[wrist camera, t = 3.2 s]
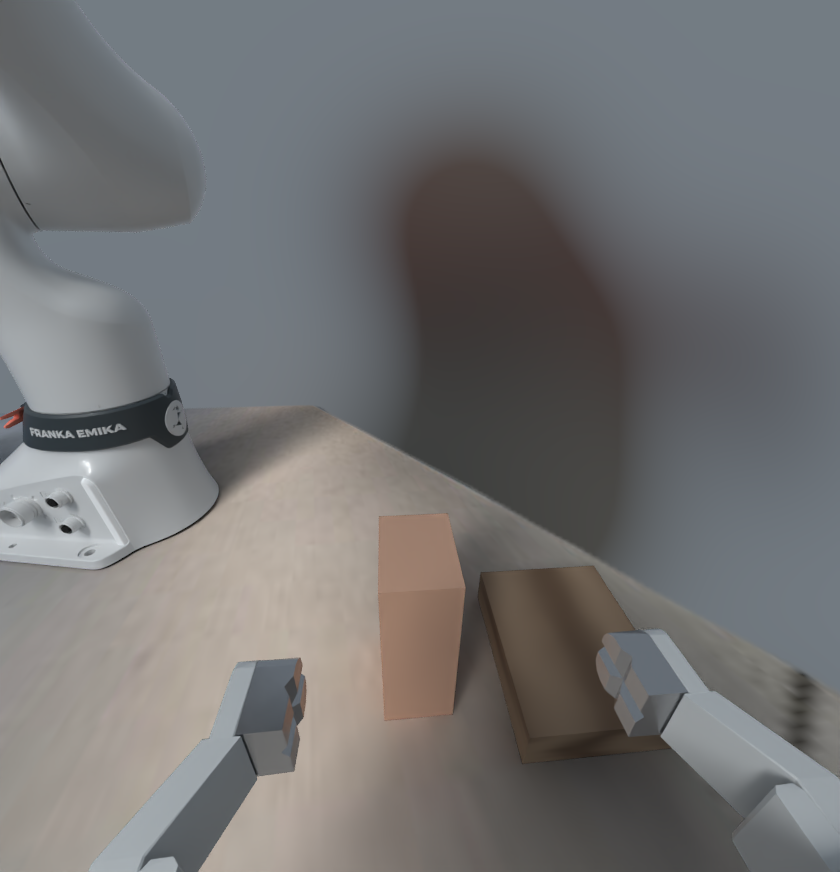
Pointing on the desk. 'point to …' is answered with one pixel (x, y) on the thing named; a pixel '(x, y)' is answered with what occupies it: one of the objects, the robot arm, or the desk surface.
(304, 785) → the desk surface
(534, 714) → the plinth
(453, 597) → the terracotta block
